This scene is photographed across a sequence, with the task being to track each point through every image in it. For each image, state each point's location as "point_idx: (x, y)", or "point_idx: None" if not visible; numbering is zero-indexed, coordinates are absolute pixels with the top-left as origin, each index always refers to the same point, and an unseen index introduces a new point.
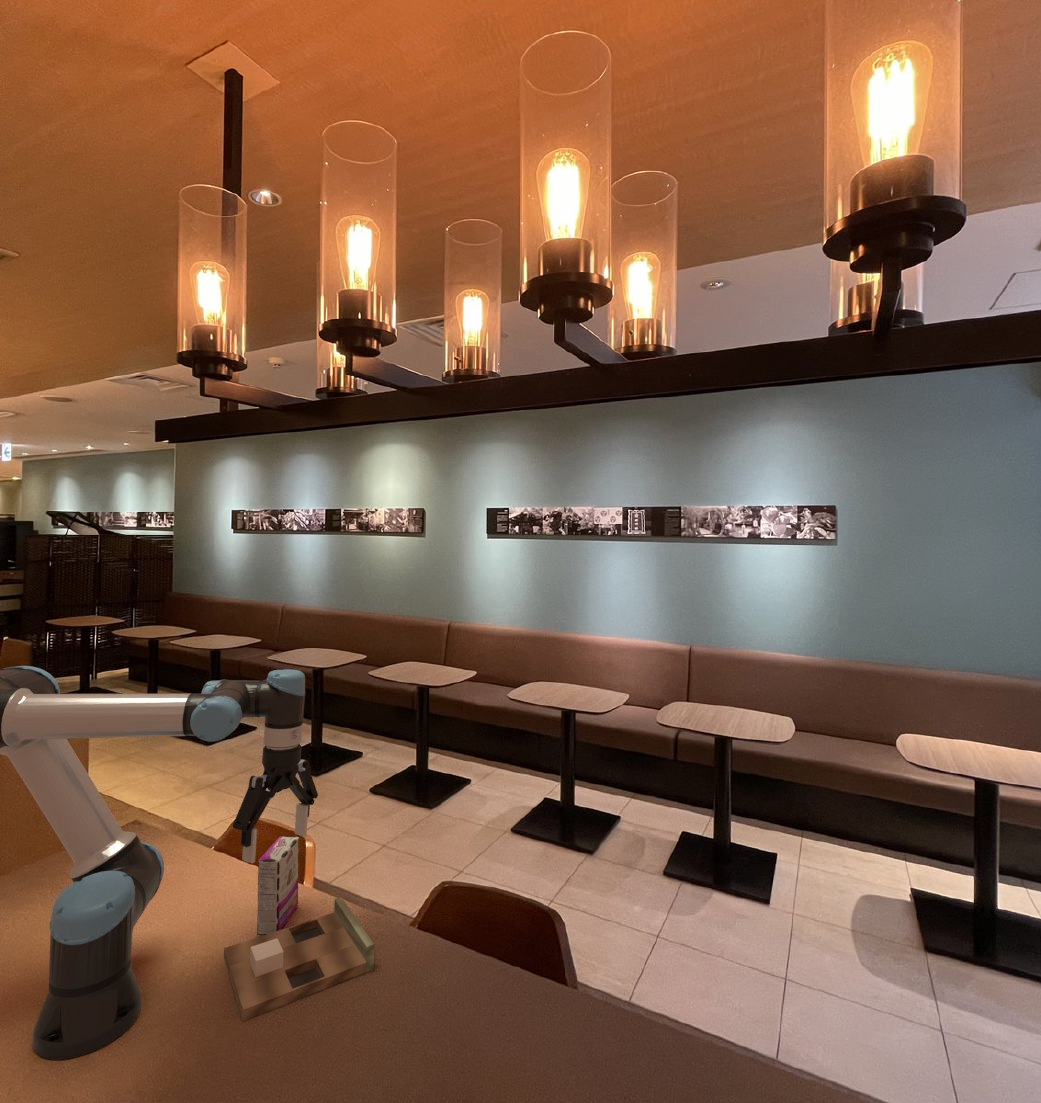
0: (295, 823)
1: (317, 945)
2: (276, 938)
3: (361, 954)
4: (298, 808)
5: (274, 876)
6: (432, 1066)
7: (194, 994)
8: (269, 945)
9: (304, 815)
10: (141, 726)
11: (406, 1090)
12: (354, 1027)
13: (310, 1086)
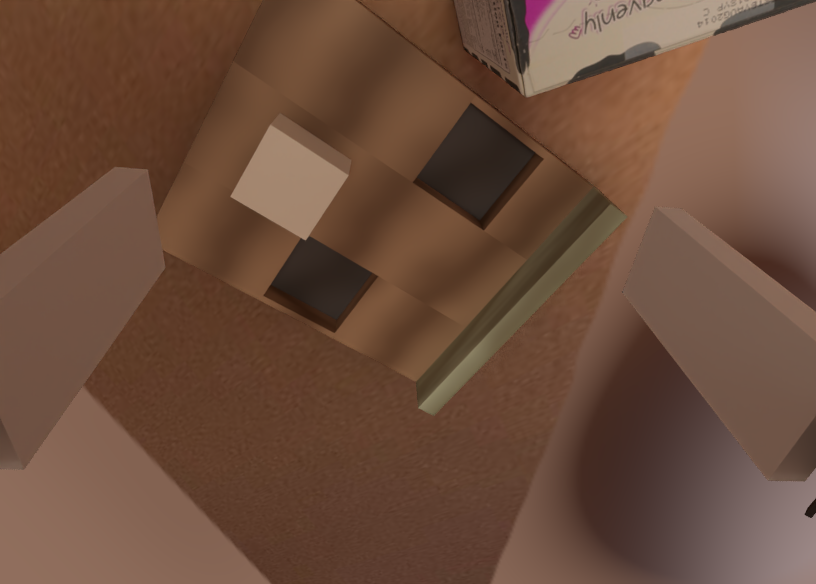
0: (699, 250)
1: (428, 245)
2: (346, 173)
3: (436, 359)
4: (792, 366)
5: (499, 58)
6: (275, 533)
7: (131, 12)
8: (307, 179)
9: (713, 397)
10: None
11: (222, 525)
12: (276, 421)
13: (141, 429)
